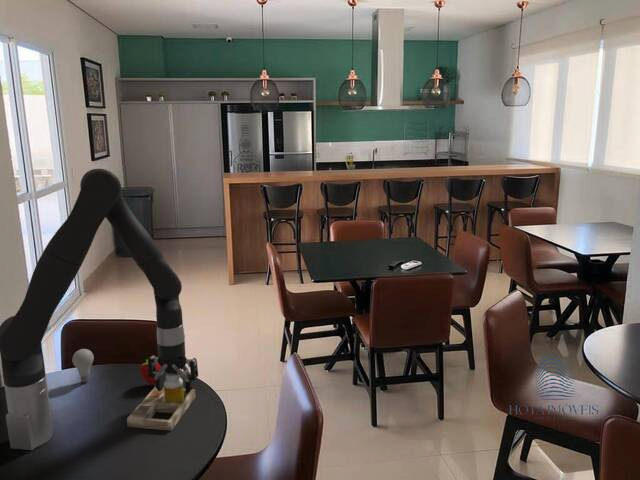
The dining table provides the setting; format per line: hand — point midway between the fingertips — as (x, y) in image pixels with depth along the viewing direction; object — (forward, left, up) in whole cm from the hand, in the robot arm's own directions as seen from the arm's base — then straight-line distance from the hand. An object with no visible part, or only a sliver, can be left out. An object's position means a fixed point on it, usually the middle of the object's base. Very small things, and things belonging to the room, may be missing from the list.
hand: (174, 391), depth 151 cm
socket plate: (-4, +2, -4) cm, 6 cm away
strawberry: (+9, +11, -4) cm, 15 cm away
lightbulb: (+8, +33, -4) cm, 35 cm away
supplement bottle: (0, 0, -4) cm, 4 cm away
